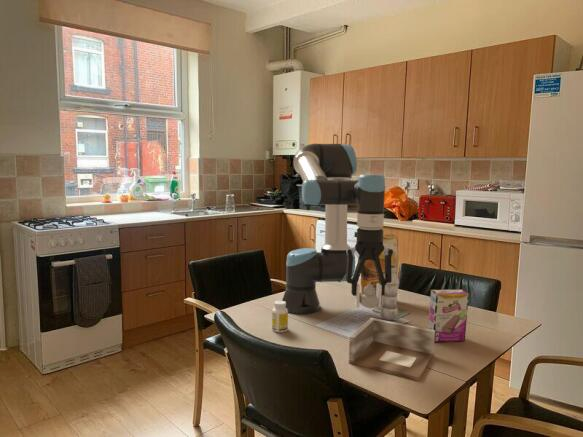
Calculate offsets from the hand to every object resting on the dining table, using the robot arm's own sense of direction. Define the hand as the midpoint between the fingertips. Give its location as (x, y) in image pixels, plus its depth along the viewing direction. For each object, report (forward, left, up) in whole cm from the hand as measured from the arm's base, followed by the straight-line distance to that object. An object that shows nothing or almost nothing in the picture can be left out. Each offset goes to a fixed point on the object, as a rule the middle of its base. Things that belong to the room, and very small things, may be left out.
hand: (367, 305), depth 128 cm
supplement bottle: (-33, +4, -16) cm, 37 cm away
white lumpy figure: (0, 0, -1) cm, 1 cm away
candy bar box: (+18, +26, -16) cm, 36 cm away
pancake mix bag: (-15, +53, -16) cm, 57 cm away
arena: (+7, +2, -16) cm, 17 cm away
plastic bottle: (-4, +34, -16) cm, 38 cm away
